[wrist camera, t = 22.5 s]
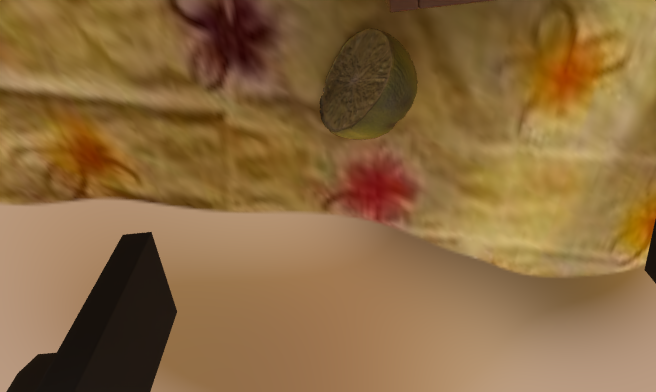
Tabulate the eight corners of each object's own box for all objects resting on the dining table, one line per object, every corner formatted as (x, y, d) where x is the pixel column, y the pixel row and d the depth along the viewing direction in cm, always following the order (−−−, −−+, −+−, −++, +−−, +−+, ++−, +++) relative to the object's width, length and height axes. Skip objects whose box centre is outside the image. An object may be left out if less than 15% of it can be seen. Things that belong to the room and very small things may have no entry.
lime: (320, 117, 29) (320, 160, 24) (316, 21, 26) (316, 51, 22) (407, 114, 29) (422, 157, 24) (411, 18, 26) (429, 47, 22)
